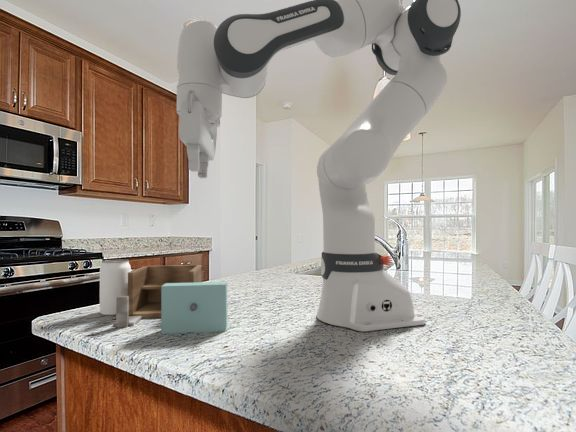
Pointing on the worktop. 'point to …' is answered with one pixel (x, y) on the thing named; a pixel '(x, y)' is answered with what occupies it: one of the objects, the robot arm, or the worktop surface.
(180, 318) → the door
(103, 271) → the can
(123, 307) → the cabinet
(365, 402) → the worktop surface
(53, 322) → the worktop surface
